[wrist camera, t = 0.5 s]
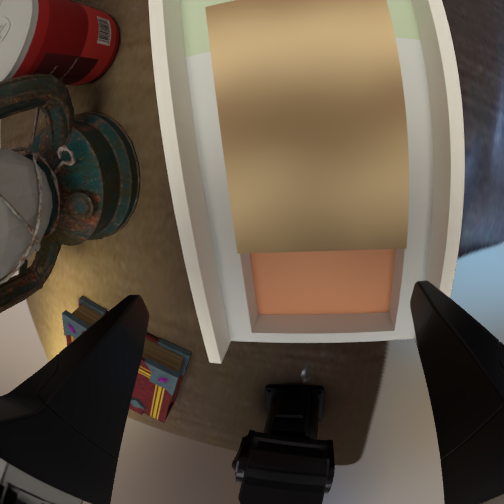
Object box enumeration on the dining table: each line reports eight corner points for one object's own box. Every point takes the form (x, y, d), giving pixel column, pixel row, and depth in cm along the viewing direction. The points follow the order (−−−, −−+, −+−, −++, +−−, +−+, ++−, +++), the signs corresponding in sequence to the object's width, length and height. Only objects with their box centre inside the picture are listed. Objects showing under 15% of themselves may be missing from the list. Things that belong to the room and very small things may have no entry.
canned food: (93, 2, 18) (12, -20, 9) (137, 33, 20) (47, 5, 10) (54, 63, 22) (-30, 62, 12) (90, 99, 23) (-3, 105, 13)
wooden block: (379, 208, 19) (406, 248, 13) (262, 213, 21) (237, 253, 15) (363, 33, 15) (384, -9, 8) (241, 42, 16) (205, 7, 10)
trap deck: (416, 317, 25) (433, 360, 19) (228, 320, 29) (209, 362, 23) (371, -95, 10) (378, -130, 4) (177, -73, 14) (149, -101, 9)
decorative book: (176, 401, 37) (163, 428, 32) (80, 348, 38) (61, 369, 33) (193, 350, 32) (176, 381, 28) (77, 289, 33) (52, 310, 28)
